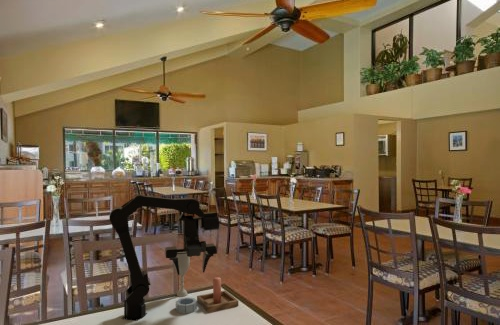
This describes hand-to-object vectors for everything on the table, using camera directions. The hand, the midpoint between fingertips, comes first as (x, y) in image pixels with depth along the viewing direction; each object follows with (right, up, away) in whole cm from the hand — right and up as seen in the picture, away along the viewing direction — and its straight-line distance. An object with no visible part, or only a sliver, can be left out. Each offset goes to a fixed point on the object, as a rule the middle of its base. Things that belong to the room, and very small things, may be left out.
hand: (191, 273), depth 126 cm
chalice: (-6, -13, +12) cm, 19 cm away
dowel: (+9, -12, +3) cm, 16 cm away
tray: (+9, -13, +3) cm, 16 cm away
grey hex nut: (-2, -13, -2) cm, 13 cm away
